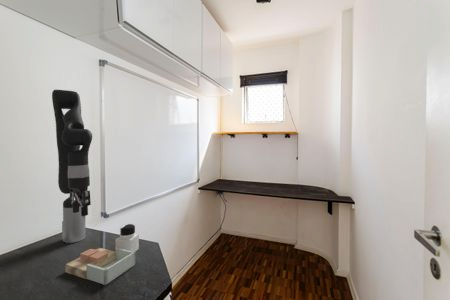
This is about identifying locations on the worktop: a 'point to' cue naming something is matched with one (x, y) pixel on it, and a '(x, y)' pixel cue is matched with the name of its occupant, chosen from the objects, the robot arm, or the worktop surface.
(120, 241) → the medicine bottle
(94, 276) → the box
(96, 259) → the tile
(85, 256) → the tile
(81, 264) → the wooden slab
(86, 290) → the worktop surface
